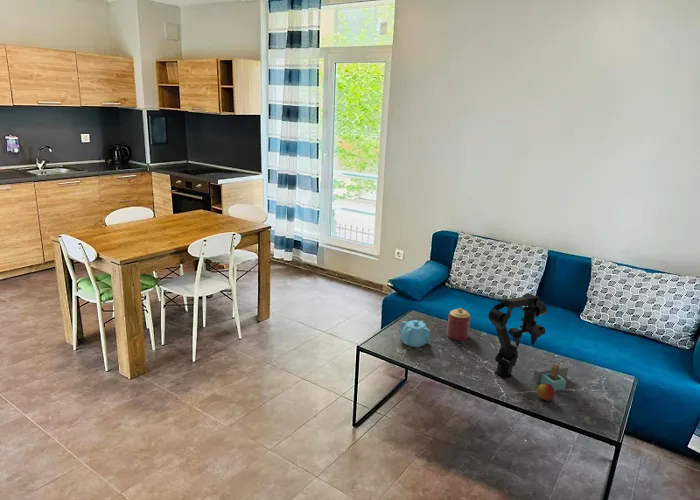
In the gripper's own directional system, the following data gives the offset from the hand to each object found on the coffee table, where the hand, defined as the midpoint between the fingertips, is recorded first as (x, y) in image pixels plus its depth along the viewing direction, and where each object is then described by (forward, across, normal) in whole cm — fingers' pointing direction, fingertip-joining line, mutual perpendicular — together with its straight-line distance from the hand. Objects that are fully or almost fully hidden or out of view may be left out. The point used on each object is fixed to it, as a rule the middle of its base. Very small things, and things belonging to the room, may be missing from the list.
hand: (524, 346), depth 254 cm
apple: (+12, -9, -28) cm, 32 cm away
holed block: (+12, +3, -20) cm, 23 cm away
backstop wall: (+12, +6, -14) cm, 19 cm away
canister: (+12, -14, +41) cm, 45 cm away
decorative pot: (+12, -43, +39) cm, 59 cm away
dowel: (+11, +3, -20) cm, 23 cm away
